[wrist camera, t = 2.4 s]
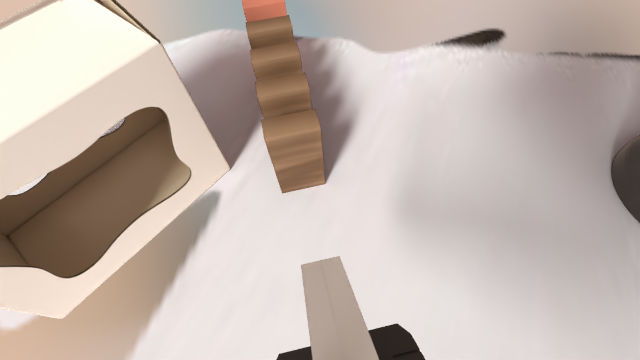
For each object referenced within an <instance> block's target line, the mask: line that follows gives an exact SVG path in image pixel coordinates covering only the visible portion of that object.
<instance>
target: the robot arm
mask: <svg viewBox="0 0 640 360" xmlns="http://www.w3.org/2000/svg"><path fill="white" fill-rule="evenodd" d="M612 177H613V182H614V185H615V188H616V191H617V193H618V195H619V197H620V198H621V200H622V202H623V203H624V205H625V206H626V207H627V209H628V210H629V211H630V212H631V214H632V215H633V216H634V217H635V218H636V219H637V220H638V221H639V222H640V135H638V136H637V137H636V138H634V139H633V140H632V141H630V142H629V143H628V144H626V145H625V146H624V147H623V148H621V149H620V151H619V152H618V153H617V154H616V156H615V158H614V161H613V165H612ZM301 269H302V277H303V285H304V293H305V302H306V310H307V318H308V326H309V334H310V342H311V346H310V347H306V348H302V349H297V350H293V351H289V352H285V353H281V354H279V355H278V358H277V360H425V358H424V356H423V355H422V353H421V352H420V350H419V348H418V346H417V344H416V342H415V340H414V339H413V337H412V335H411V334H410V333H409V332H408V331H406V330H405V329H404V328H402V327H401V326H400V325H399V324H393V325H389V326H385V327H381V328H377V329H373V330H369V331H368V329H367V327H366V324H365V322H364V319H363V316H362V314H361V311H360V309H359V306H358V303H357V301H356V298H355V296H354V293H353V290H352V288H351V285H350V283H349V280H348V277H347V275H346V272H345V270H344V267H343V264H342V262H341V259H340V257H339V256H338V257H333V258H329V259H325V260H320V261H316V262H312V263H307V264H303V265H301Z"/></svg>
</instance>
